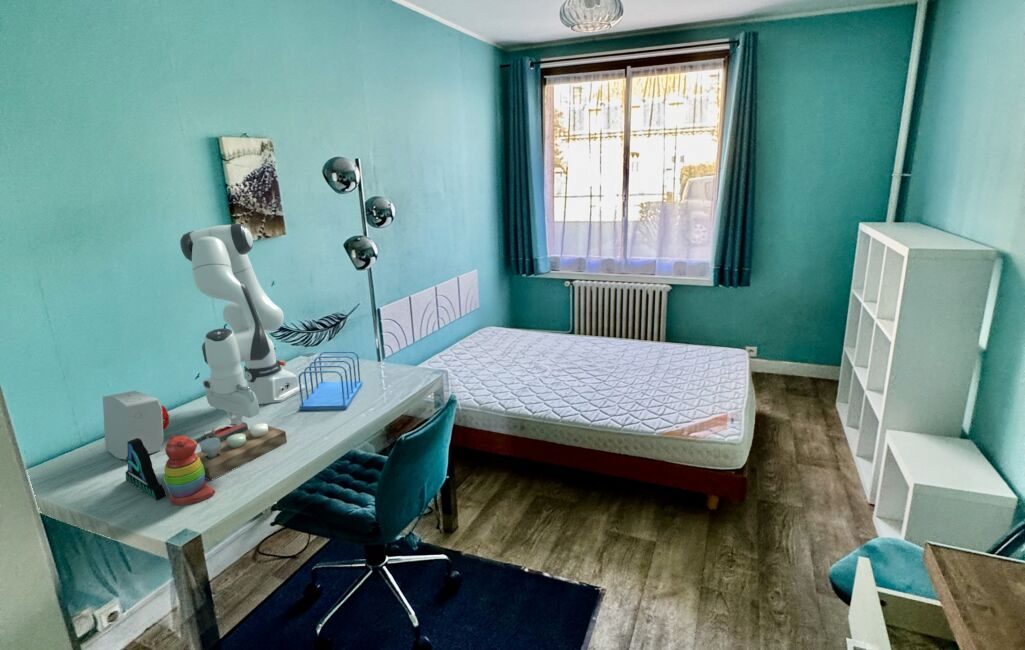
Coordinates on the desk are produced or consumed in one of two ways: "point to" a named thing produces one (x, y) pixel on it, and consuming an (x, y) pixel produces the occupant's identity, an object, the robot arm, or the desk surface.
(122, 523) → the desk surface
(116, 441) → the electrical switch box
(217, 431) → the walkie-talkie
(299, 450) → the desk surface
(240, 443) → the sage knob
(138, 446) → the decorative sign
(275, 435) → the knob panel
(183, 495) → the stacking bear
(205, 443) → the grey knob
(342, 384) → the file sorter
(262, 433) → the cream knob
